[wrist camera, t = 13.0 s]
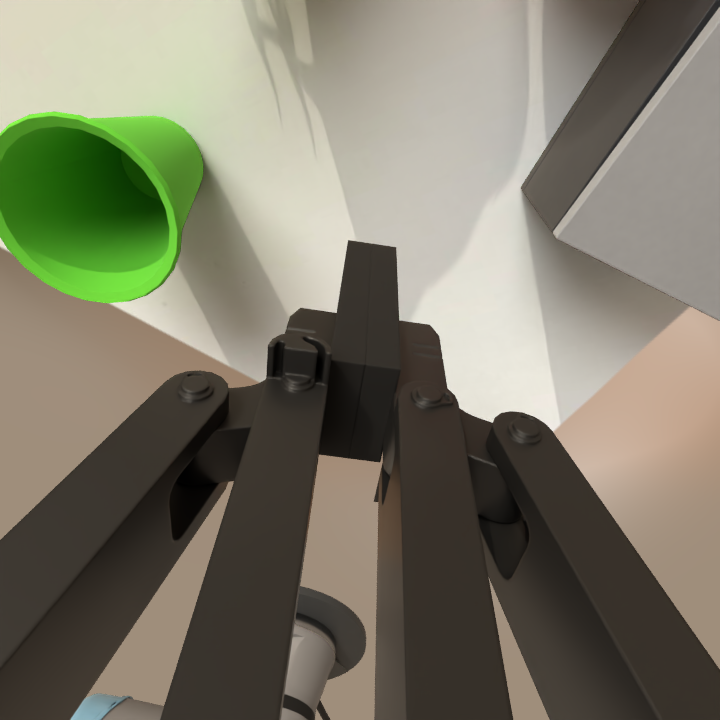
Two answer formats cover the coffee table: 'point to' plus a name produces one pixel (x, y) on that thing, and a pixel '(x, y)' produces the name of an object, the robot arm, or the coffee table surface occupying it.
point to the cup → (97, 200)
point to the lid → (663, 187)
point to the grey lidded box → (614, 100)
